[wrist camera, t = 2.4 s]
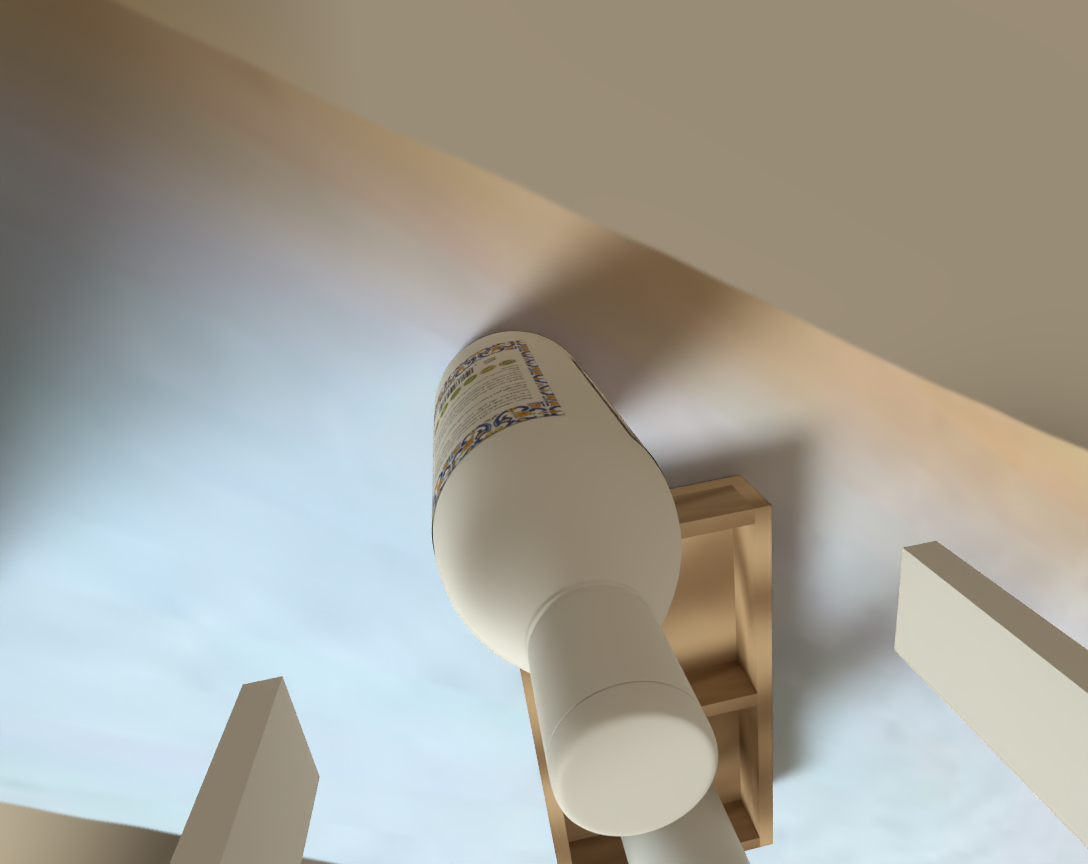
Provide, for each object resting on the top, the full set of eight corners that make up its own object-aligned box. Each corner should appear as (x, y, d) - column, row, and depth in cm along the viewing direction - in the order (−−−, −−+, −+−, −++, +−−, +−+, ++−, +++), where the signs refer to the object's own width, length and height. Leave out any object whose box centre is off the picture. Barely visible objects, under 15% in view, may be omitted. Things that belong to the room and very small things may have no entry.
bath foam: (413, 448, 29) (370, 898, 11) (465, 304, 27) (522, 552, 9) (552, 490, 31) (720, 938, 13) (610, 359, 29) (908, 658, 11)
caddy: (493, 524, 31) (499, 560, 28) (740, 475, 32) (771, 505, 29) (554, 842, 40) (563, 896, 37) (747, 794, 41) (772, 843, 38)
